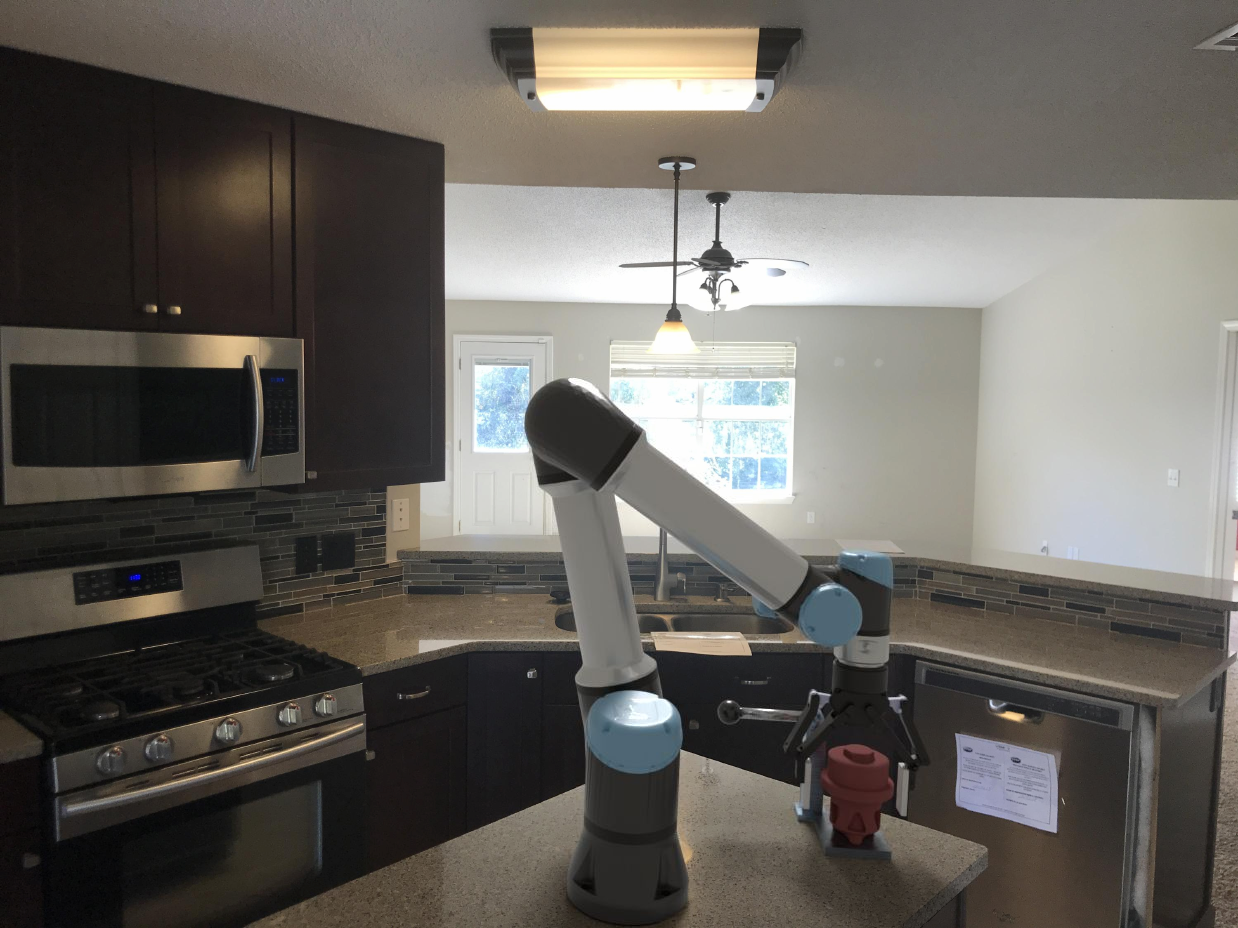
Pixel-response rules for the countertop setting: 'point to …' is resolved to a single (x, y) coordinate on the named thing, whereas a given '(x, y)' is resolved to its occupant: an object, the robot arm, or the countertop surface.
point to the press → (829, 836)
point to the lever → (761, 714)
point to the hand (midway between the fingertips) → (852, 808)
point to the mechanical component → (856, 789)
